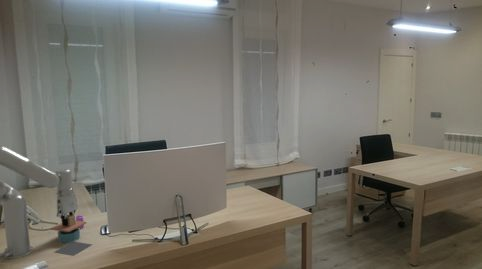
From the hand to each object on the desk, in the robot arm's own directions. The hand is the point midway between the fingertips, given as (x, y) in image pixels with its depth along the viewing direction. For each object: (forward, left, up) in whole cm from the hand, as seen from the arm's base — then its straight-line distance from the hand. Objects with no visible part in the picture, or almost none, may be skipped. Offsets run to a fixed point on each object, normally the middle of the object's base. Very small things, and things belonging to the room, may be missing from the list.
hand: (68, 223), depth 187 cm
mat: (-9, -12, -9) cm, 18 cm away
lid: (0, 0, -2) cm, 2 cm away
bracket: (+12, +11, -9) cm, 19 cm away
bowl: (0, 0, -9) cm, 9 cm away
